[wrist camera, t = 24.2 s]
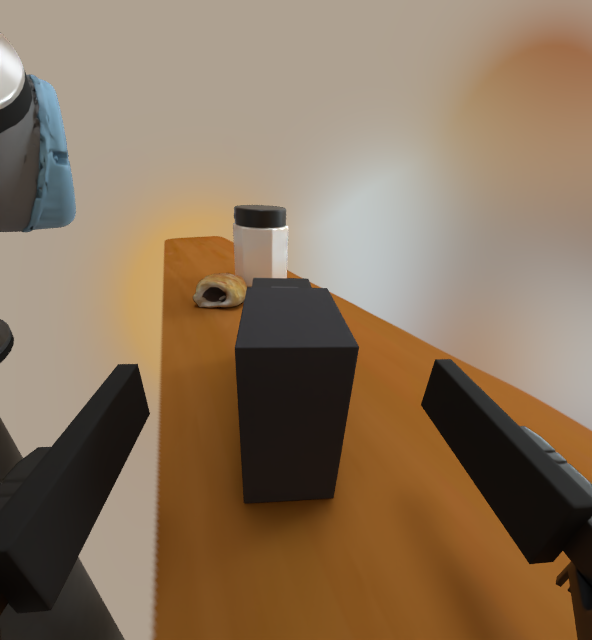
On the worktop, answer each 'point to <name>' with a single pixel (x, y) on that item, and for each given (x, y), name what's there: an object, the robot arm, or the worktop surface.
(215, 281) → the pastry
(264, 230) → the jar
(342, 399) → the block
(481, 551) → the worktop surface
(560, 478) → the robot arm
